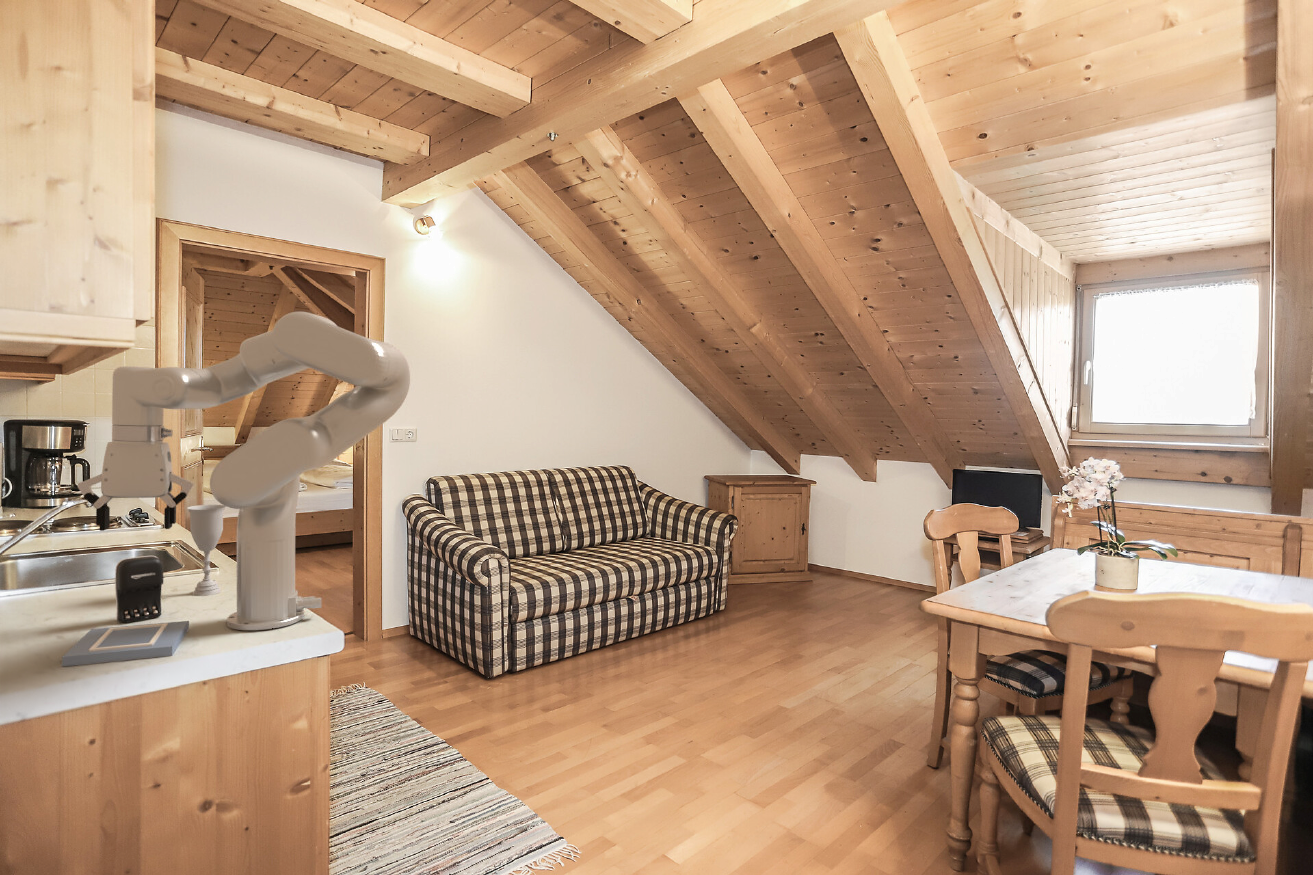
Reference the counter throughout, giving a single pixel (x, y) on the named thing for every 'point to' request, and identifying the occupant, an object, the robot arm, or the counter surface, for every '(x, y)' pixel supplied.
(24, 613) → the counter surface
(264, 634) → the counter surface
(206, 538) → the chalice
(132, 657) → the grey flat square block
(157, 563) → the battery charger
